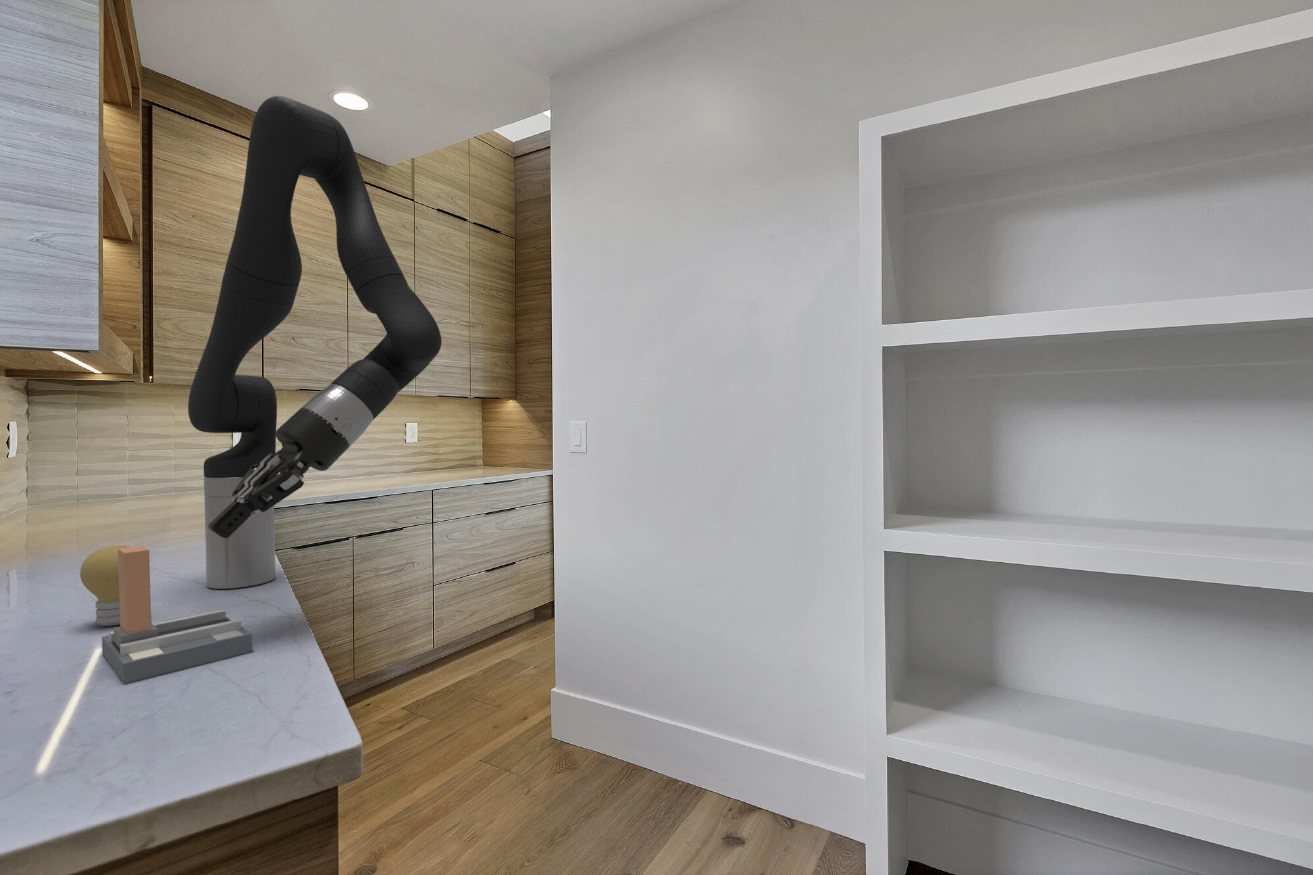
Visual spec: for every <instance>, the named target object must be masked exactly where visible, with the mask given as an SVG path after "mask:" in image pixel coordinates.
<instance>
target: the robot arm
mask: <svg viewBox="0 0 1313 875" xmlns="http://www.w3.org/2000/svg"><path fill="white" fill-rule="evenodd" d="M246 157H247V159H246V166H245V176H244V182H243V191H242V195H241V196H242V197H241V202H240V207H239V210H238V211H239V212H238V214H237V219H236V220H237V221H236V225H235V229H234V235H233V239H232V243H231V245H230V246H231V247H230V249H229V253H228V257H227V260H226V263H225V267H224V272H223V275H222V280H221V284H220V285H221V286H220V291H219V295H218V300H217V304H216V309H215V313H214V317H213V320H212V321H213V322H212V326H211V330H210V332H209V336H208V338H207V342H206V345H205V347H204V350H203V353H202V354H201V359H200V361H199V364H198V367H197V370H196V372H195V374H194V377H193V381H192V383H191V388H190V391H189V394H188V395H189V396H188V401H187V402H188V404H187V406H188V407H187V412H188V419H189V421H190V424H191V425H192V426H193V428H194V429H196V430H197V431H199V432H202V433H207V434H208V433H209V434H232V433H234V434H240V438H239V441H238V442H237V443H236V444H235V445H233V446H232V447H230V448H229V449H227V450H225V451H224V452H220V453H218V454H216V455H211V456H209V457H208V458H206V459H205V460H204V462H203V492H204V494H203V495H204V496H203V497H204V498H203V499H204V526H205V527H204V532H205V533H204V534H205V535H204V537H205V572H206V573H205V574H206V575H205V577H206V587H207V588H210V589H218V590H219V589H220V590H223V589H226V590H227V589H238V588H239V589H240V588H246V587H252V586H253V587H254V586H257V585H262V584H265V583H268V582H271V581H273V580H274V579H275V578H276V543H275V542H276V535H275V534H276V533H275V532H276V531H275V505H277V504H279V503H281V502H282V501H283V500H284V499H286V498H287V497H289V496H290V495H292V494H293V493H295V492H296V491H298V490H299V489H301V488H302V487H303V486H304V485H305V482H304V481H303V479H304V478H305V476H304V475H305V473H307V472H308V470H309V469H310V468H312V469H314V470H316V471H319V472H325V471H327V470H329V469H330V468H331V467H332V465H333V464H334V463H335V462H336V461H338V459H339V458H340V457H341V456H342V455H343V454H344V453H345V452H346V451H348V449H349V448H350V447H351V446H352V445H353V444H354V443H355V442H356V441H357V440H358V439H359V438H360V437H361V436H362V435H363V434H364V433H365V431H366V430H367V428H368V427H369V426H370V424H372V422H373V421H374V420H375V419H376V418H377V417H378V416H379V415H380V414H382V412H383V411H384V410H385V409H386V408H387V407H388V406H389V405H390V404H391V403H392V401H393V400H394V399H395V398H396V397H397V394H398V393H400V391H402V390H403V389H404V388H405V387H407V385H410V383H411V382H413V380H415V379H416V378H417V377H418V376H419V375H420V374H421V373H423V371H424V370H425V369H426V368H427V367H428V365H430V364H431V362H432V361H433V360H434V359H435V358H436V357H437V355H438V354H439V353H440V350H441V348H442V335H441V332H440V328H439V326H438V324H437V321H436V320H435V318H434V316H433V315H432V313H431V312H430V310H429V309H428V308H427V307H426V306H425V304H424V303H423V302H422V300H421V298H420V297H419V296H418V295H417V294H416V293H415V291H414V290H412V288H411V287H410V286H409V283H408V281H407V279H406V277H405V275H404V273H403V271H402V269H401V268H400V265H399V264H398V261H397V259H396V257H395V256H394V254H393V252H392V250H391V248H390V246H389V244H388V242H387V240H386V237H385V235H384V233H383V230H382V229H381V226H380V223H379V220H378V218H377V216H376V212H375V209H374V207H373V205H372V201H371V198H370V195H369V192H368V189H367V185H366V184H365V180H364V177H363V175H362V171H361V168H360V165H359V163H358V159H357V155H356V153H355V150H354V147H353V144H352V142H351V140H350V137H349V134H348V133H347V131H346V129H345V127H344V126H343V124H341V122H340V121H339V120H338V119H336V118H335V117H334V116H332V115H331V114H329V113H327V112H325V111H322V110H320V109H317V108H315V107H312V106H310V105H307V104H305V103H302V102H300V101H298V100H295V99H292V98H290V97H287V96H283V95H274V96H269V97H268V98H266V99H265V100H264V101H263V102H262V103H261V104H260V105H259V107H258V109H257V111H256V113H255V115H254V118H253V120H252V124H251V129H250V134H249V141H248V149H247V156H246ZM300 176H302V177H306V178H310V179H313V180H315V181H316V183H317V184H318V185H319V187H320V189H321V190H322V192H324V194H325V196H326V198H327V199H328V201H329V203H330V206H331V208H332V210H333V213H334V217H335V218H334V220H335V225H336V226H335V228H336V229H335V230H336V232H335V233H336V234H335V236H336V237H335V238H336V251H337V254H338V258H339V262H340V264H341V267H342V269H343V272H344V274H345V276H346V278H347V279H348V281H349V283H350V285H351V286H352V289H353V291H354V293H355V295H356V296H357V298H358V300H359V303H360V304H361V305H362V306H363V308H364V309H365V311H367V312H369V313H370V314H374V315H376V316H377V318H378V320H379V321H380V323H381V325H382V326H383V328H384V330H385V332H386V335H385V336H384V337H383V338H382V339H381V340H380V342H378V344H377V345H376V346H375V347H374V348H372V350H371V351H370V352H368V354H367V355H366V356H364V357H363V358H362V359H359V360H356V361H354V362H353V363H352V364H350V366H348V367H347V368H346V369H345V370H344V371H342V372H341V373H340V374H339V376H337V377H336V378H335V379H334V380H333V381H332V382H331V383H330V384H328V385H327V386H326V387H325V388H323V389H321V390H320V391H319V392H317V393H316V394H315V395H313V396H312V397H311V398H310V399H309V400H308V401H307V402H306V403H305V404H303V406H302V407H301V408H299V409H298V410H297V411H296V412H294V413H293V415H291V417H289V418H288V419H287V420H286V421H285V422H284V423H283V424H282V425H280V427H278V428H277V419H278V398H277V394H276V391H275V390H276V389H275V388H274V386H273V383H272V382H271V380H269V379H268V378H266V377H263V376H257V375H243V374H241V375H238V374H237V370H238V368H239V367H240V364H241V363H242V361H243V360H244V358H245V357H246V355H247V354H248V353H250V351H251V349H253V347H254V346H256V345H257V344H258V343H259V342H261V341H262V340H263V339H264V338H266V336H268V335H269V334H270V333H271V332H273V331H274V330H275V329H276V328H277V327H278V326H279V325H280V324H281V323H282V322H283V321H284V320H286V318H287V317H288V315H289V314H290V313H291V311H292V309H293V306H294V303H295V300H296V296H297V292H298V289H299V287H300V286H299V285H300V283H301V279H302V272H303V263H302V262H303V261H302V258H301V257H302V256H301V252H300V249H299V245H298V241H297V238H296V235H295V232H294V229H293V224H292V205H293V204H292V203H293V201H294V200H293V199H294V195H295V189H296V186H297V183H298V180H299V177H300ZM277 440H278V442H280V444H281V449H280V450H277V447H276V446H277V445H276V444H277Z"/></svg>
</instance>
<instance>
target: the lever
mask: <svg viewBox="0 0 1313 875" xmlns="http://www.w3.org/2000/svg"><path fill="white" fill-rule="evenodd" d="M150 562H151V561H150V550H149V549H148V548H146V547H144V546H143V545H137V546H129V547H128V548H120V549H118V565H119V599H120V626H118V627H113V631H114V642H115V644H116V645H117V646H118V647H119V648H120V644H125V643H129V642H134V641H139V640H143V639H148V638H153V637H157V636H158V628H156V627H155V626H154V625H153V622H152V607H151V606H152V604H151V603H152V602H151V598H152V597H151V568H150V567H151V564H150Z"/></svg>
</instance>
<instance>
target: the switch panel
mask: <svg viewBox="0 0 1313 875" xmlns="http://www.w3.org/2000/svg"><path fill="white" fill-rule="evenodd" d="M226 615H227V611H226V610H224V609H220V610H219V609H218V610H214V611H210V612H203V613H198V614H194V615H188V616H183V617H179V618H174V619H169V620H163V621H159V622H154V623H153V622H152V624H153V625H154V626H155V627H156V628H158V636H157V637H153V638H148V639H143V640H139V641H134V642H129V643H125V644H120V648H119V647H118V646H117V645H116V644H115V642H114V630H113V631H109V635H103V636H101V645H102V646H101V648H102V650H101V651H102V656H103V658H105V660H106V662H108V664H109V665H110V667H111V668H112V670H113V671H114V673H115V674H116V675H117V677H118V678H119V680H120V681H121V682H122V684H124V685H125V684H129V683H133V682H137V681H142V680H145V679H149V678H154V677H157V676H162V675H165V674H170V673H173V672H178V671H181V670H185V669H189V668H193V667H198V666H201V665H204V664H210V663H212V662H218V661H221V660H224V659H229V658H232V657H236V656H241V655H245V654H250V653H252V652H253V633H252V632H250V631H248V629H245V628H243V627H242V620H240V619H233V620H232V619H230V618H229V617H227V616H226ZM161 674H162V675H161Z"/></svg>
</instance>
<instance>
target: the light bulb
mask: <svg viewBox="0 0 1313 875" xmlns="http://www.w3.org/2000/svg"><path fill="white" fill-rule="evenodd" d="M128 547H130V546H129V545H128V546H127V545H109V546H104V547H102V548H99V549H97V550H95V551H93V552H92V553H90V554H89V555H88V556H87V557H86V558H85V559H84V561H83V562H82V564H81V567H80V572H79V575H80V576H79V577H80V579H81V583H82V584H83V586H84V587H85V589H87V591H88V592H90V593H91V594H92V595H93V596H95V597H96V599H97V601H95V608H96V610H95V615H96V617H95V622H96V623H97V625H100V626H102V627H114V626H118V625H120V599H119V565H118V549H120V548H128Z"/></svg>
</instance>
